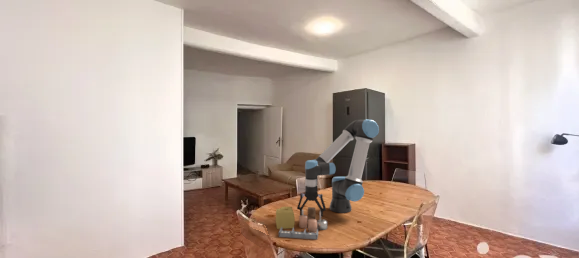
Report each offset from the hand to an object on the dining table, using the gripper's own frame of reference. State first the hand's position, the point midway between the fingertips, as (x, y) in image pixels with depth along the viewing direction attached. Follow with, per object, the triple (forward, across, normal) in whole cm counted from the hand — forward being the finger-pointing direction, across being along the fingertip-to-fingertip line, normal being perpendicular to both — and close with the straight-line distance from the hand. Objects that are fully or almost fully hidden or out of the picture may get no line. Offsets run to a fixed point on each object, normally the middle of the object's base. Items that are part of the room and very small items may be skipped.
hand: (311, 220), depth 164 cm
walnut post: (0, 0, 0) cm, 0 cm away
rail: (0, +5, +22) cm, 22 cm away
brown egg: (0, +4, +9) cm, 10 cm away
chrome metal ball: (0, -7, +10) cm, 12 cm away
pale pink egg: (0, -2, +14) cm, 15 cm away
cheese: (+1, +15, +9) cm, 18 cm away
